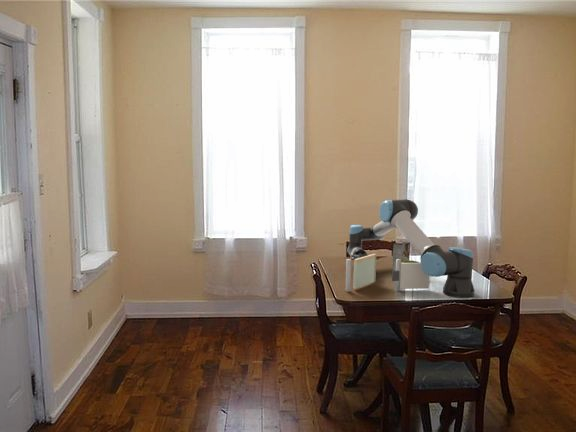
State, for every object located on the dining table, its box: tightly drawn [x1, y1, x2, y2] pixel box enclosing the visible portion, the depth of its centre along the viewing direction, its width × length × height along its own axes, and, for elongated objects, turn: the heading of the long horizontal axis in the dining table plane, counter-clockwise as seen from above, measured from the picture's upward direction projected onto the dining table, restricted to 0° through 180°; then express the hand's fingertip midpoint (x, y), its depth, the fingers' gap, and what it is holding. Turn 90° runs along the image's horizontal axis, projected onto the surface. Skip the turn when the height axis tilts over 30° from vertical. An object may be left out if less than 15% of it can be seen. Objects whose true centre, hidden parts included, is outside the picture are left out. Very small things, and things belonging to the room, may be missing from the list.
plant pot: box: [402, 259, 420, 263], centre depth 319 cm, size 9×9×9 cm
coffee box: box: [391, 240, 411, 271], centre depth 338 cm, size 9×6×16 cm
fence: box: [344, 258, 430, 292], centre depth 289 cm, size 3×43×16 cm, turn 97°
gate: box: [352, 253, 377, 290], centre depth 296 cm, size 20×2×15 cm, turn 142°
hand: (369, 263), depth 309 cm, fingers closed
